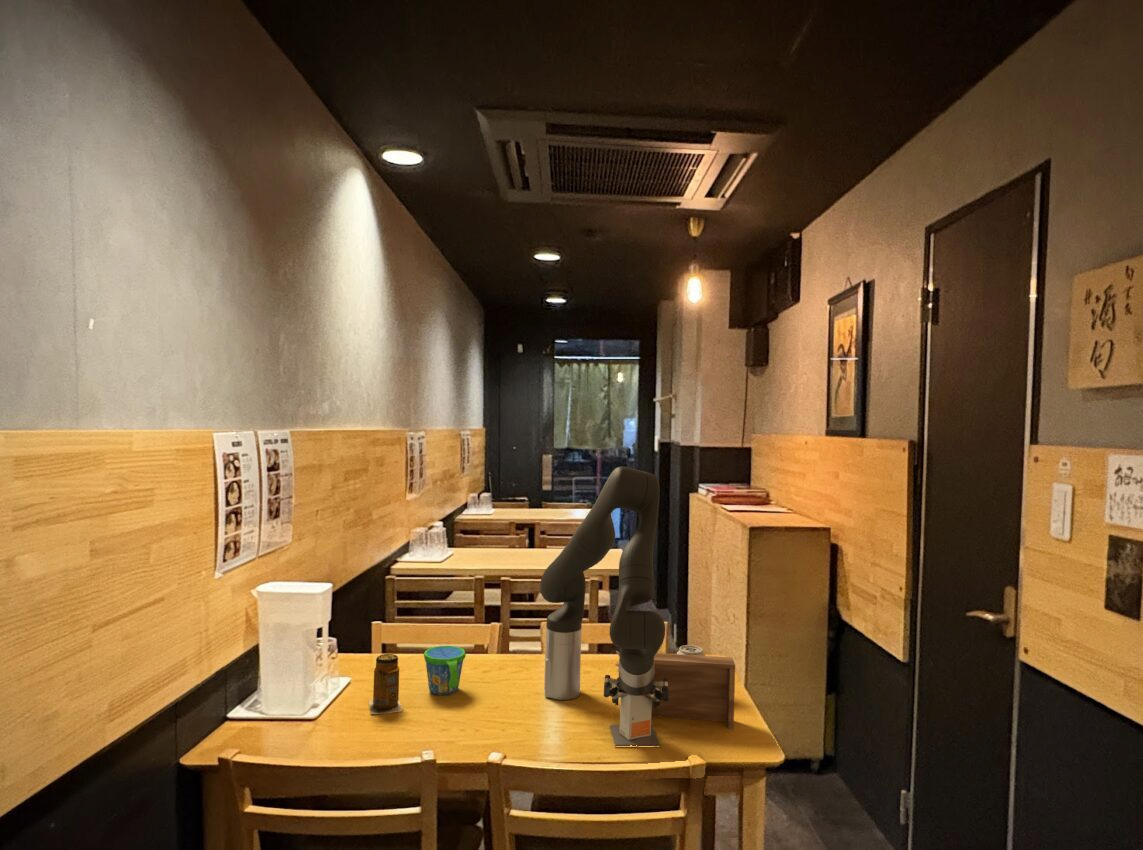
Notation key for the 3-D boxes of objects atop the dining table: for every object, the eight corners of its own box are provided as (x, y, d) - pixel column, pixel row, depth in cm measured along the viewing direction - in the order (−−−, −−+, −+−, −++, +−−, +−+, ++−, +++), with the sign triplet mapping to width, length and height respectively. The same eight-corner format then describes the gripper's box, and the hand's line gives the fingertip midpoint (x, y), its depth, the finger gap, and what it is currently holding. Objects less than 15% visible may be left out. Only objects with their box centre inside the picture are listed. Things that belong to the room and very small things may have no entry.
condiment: (398, 698, 171) (400, 651, 171) (402, 711, 163) (403, 662, 163) (368, 701, 168) (370, 653, 168) (371, 715, 160) (372, 665, 160)
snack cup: (471, 699, 171) (472, 659, 171) (429, 704, 167) (430, 663, 167) (456, 677, 186) (457, 640, 186) (418, 682, 181) (419, 644, 181)
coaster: (615, 747, 147) (615, 744, 147) (609, 727, 157) (609, 724, 157) (660, 747, 148) (660, 744, 148) (651, 726, 158) (651, 724, 158)
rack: (733, 728, 158) (735, 664, 158) (637, 721, 160) (639, 658, 160) (730, 719, 163) (732, 657, 163) (637, 713, 165) (639, 652, 165)
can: (702, 688, 182) (704, 644, 182) (705, 699, 175) (706, 653, 175) (675, 687, 183) (676, 642, 183) (676, 698, 175) (677, 651, 175)
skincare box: (629, 741, 149) (630, 687, 149) (619, 733, 153) (620, 680, 153) (652, 736, 152) (653, 682, 152) (641, 728, 156) (642, 676, 156)
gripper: (670, 654, 143) (667, 688, 154) (603, 650, 144) (605, 684, 156) (671, 689, 137) (667, 721, 149) (601, 684, 139) (603, 717, 150)
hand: (635, 702), depth 152 cm, fingers open, 8 cm apart
